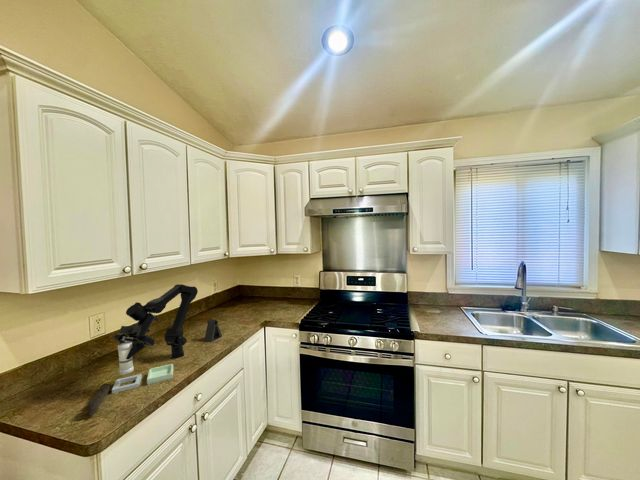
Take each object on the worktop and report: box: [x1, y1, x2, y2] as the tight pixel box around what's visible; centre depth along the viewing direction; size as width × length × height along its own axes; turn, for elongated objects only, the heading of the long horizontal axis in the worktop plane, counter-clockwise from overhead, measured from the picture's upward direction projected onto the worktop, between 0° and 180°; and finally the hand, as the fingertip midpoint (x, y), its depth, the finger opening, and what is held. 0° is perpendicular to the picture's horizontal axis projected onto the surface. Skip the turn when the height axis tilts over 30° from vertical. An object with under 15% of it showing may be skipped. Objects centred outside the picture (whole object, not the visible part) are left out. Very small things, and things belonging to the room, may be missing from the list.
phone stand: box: [204, 318, 223, 342], centre depth 173 cm, size 9×6×12 cm, turn 153°
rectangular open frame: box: [111, 373, 143, 394], centre depth 123 cm, size 10×10×2 cm
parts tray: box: [146, 363, 174, 386], centre depth 129 cm, size 11×10×2 cm
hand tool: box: [87, 383, 112, 418], centre depth 109 cm, size 19×4×5 cm, turn 21°
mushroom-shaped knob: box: [117, 341, 135, 376], centre depth 122 cm, size 5×5×12 cm
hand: (122, 358), depth 121 cm, fingers closed on mushroom-shaped knob, 5 cm apart
